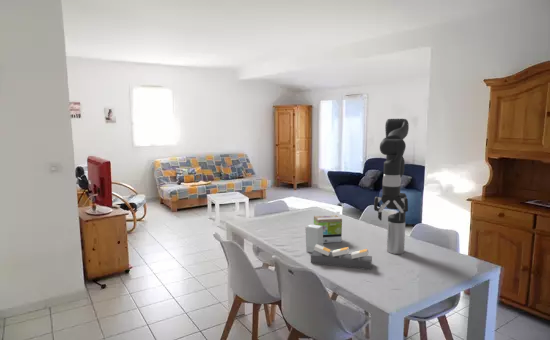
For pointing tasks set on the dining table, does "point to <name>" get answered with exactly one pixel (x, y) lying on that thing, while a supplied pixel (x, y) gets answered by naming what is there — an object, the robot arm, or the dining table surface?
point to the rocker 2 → (340, 251)
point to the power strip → (342, 260)
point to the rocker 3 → (359, 253)
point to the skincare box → (313, 237)
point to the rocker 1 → (322, 249)
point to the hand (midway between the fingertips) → (390, 220)
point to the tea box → (330, 227)
